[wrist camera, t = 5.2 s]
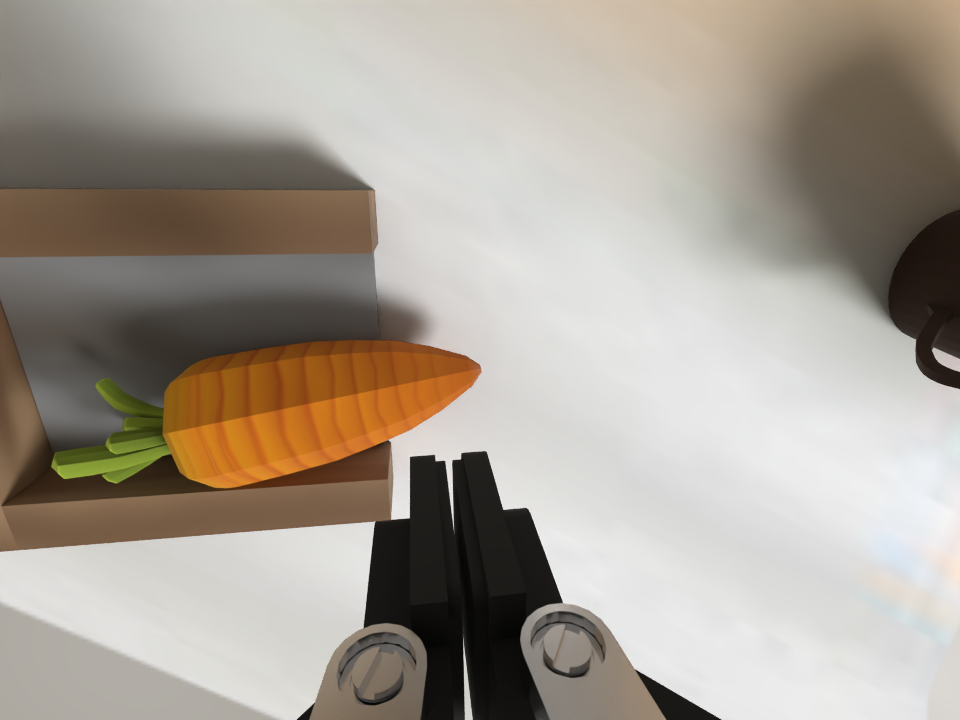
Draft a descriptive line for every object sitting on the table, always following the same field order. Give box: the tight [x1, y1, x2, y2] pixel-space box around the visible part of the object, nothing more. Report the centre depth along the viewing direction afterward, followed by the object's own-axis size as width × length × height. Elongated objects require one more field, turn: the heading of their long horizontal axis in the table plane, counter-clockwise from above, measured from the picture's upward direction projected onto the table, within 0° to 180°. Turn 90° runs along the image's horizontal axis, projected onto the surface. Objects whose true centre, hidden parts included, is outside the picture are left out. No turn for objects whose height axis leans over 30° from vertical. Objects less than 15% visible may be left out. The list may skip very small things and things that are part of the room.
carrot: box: [51, 340, 481, 488], centre depth 18 cm, size 5×5×15 cm
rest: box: [0, 188, 393, 552], centre depth 18 cm, size 13×16×3 cm
